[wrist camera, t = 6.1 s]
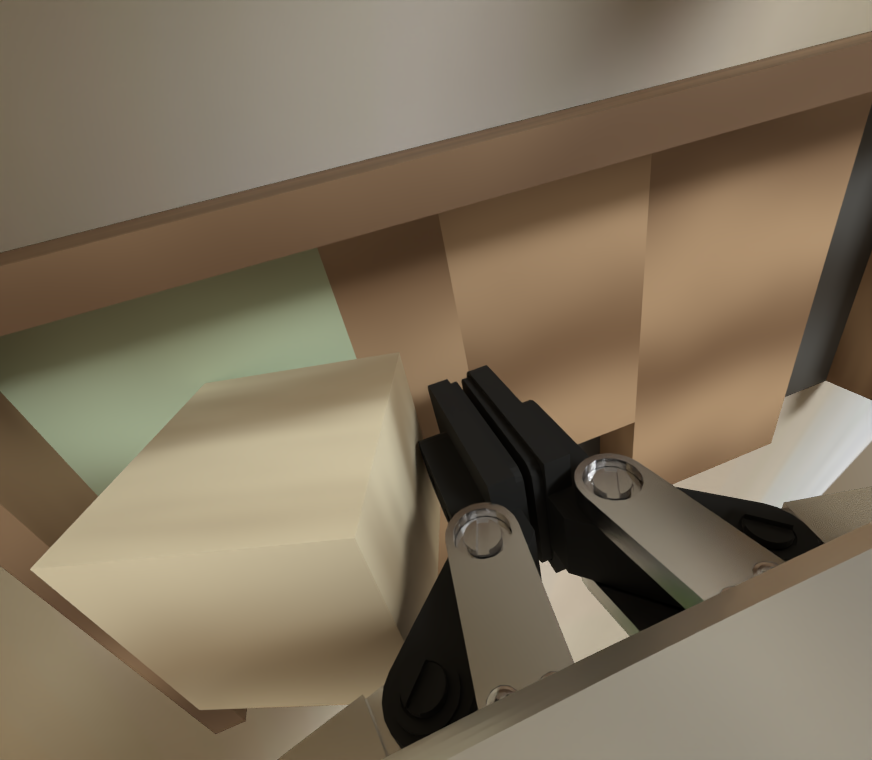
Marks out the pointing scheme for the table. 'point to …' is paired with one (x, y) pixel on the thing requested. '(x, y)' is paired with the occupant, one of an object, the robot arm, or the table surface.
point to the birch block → (265, 539)
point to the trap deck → (473, 288)
